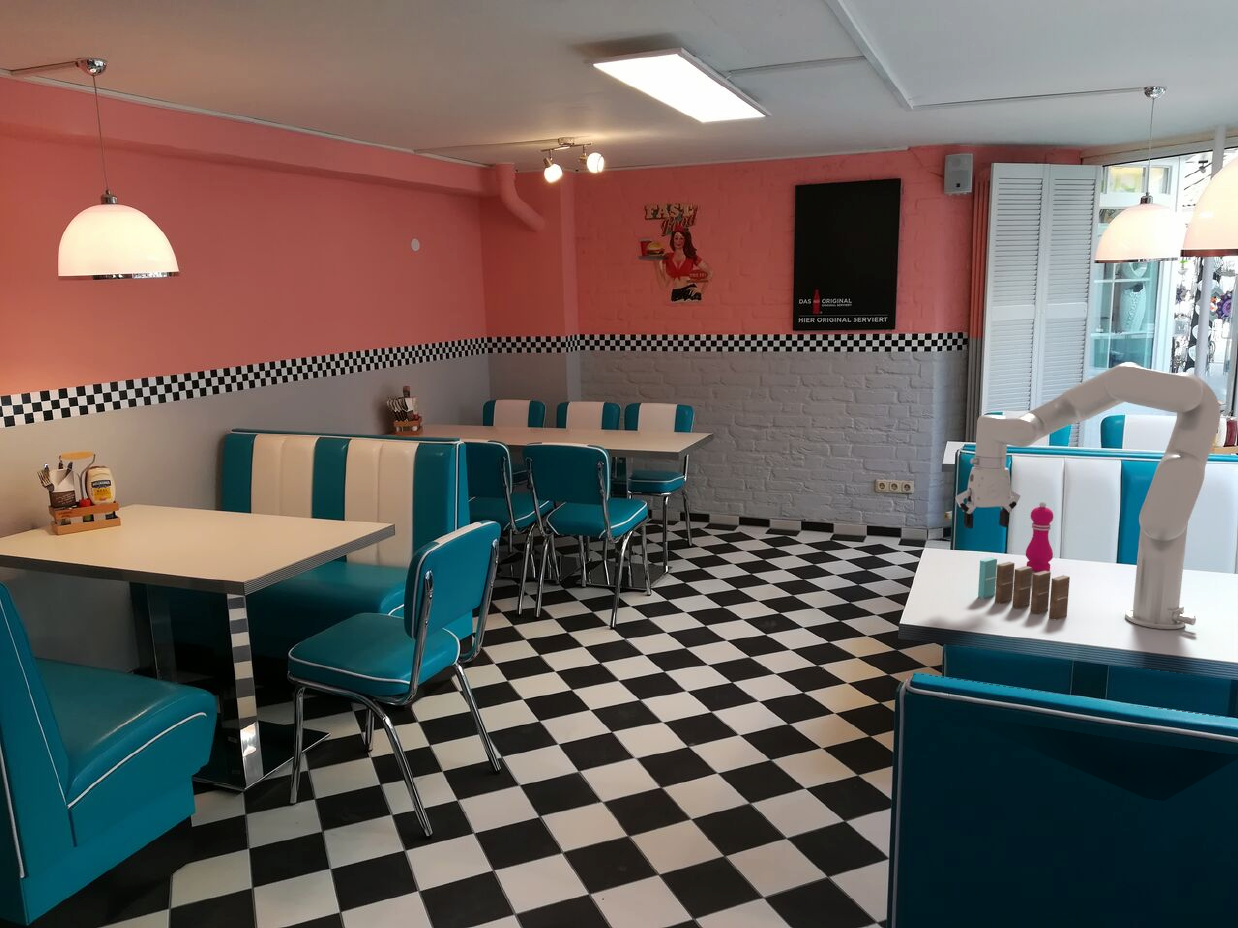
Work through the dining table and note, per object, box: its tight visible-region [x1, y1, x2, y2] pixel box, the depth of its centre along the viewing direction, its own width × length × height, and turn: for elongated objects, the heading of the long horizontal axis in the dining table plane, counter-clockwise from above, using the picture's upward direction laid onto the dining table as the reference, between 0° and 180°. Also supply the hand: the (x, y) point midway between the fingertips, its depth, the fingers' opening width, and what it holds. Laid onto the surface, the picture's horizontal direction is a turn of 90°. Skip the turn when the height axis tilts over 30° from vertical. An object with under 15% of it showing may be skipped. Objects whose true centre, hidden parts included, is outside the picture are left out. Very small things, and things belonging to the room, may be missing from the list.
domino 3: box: [1011, 565, 1033, 610], centre depth 232 cm, size 2×5×10 cm, turn 123°
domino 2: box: [994, 561, 1015, 604], centre depth 236 cm, size 2×5×10 cm, turn 123°
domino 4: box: [1029, 571, 1052, 615], centre depth 228 cm, size 2×5×10 cm, turn 123°
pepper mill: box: [1025, 501, 1054, 573], centre depth 264 cm, size 7×7×20 cm
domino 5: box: [1048, 574, 1071, 620], centre depth 224 cm, size 2×5×10 cm, turn 123°
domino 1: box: [977, 556, 998, 599], centre depth 240 cm, size 2×5×10 cm, turn 124°
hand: (985, 526), depth 239 cm, fingers open, 9 cm apart
